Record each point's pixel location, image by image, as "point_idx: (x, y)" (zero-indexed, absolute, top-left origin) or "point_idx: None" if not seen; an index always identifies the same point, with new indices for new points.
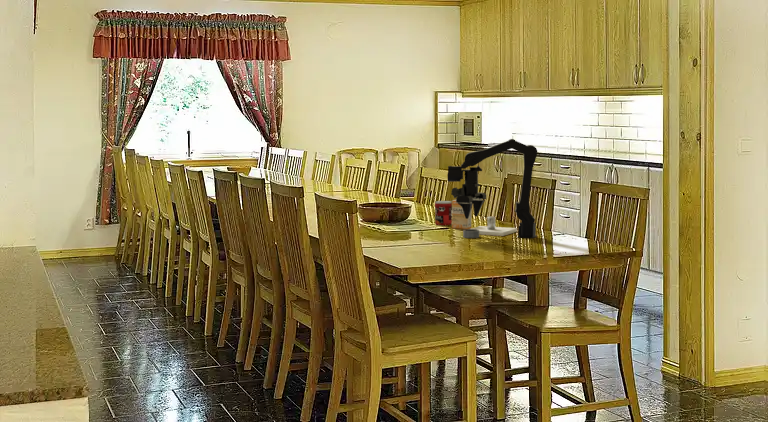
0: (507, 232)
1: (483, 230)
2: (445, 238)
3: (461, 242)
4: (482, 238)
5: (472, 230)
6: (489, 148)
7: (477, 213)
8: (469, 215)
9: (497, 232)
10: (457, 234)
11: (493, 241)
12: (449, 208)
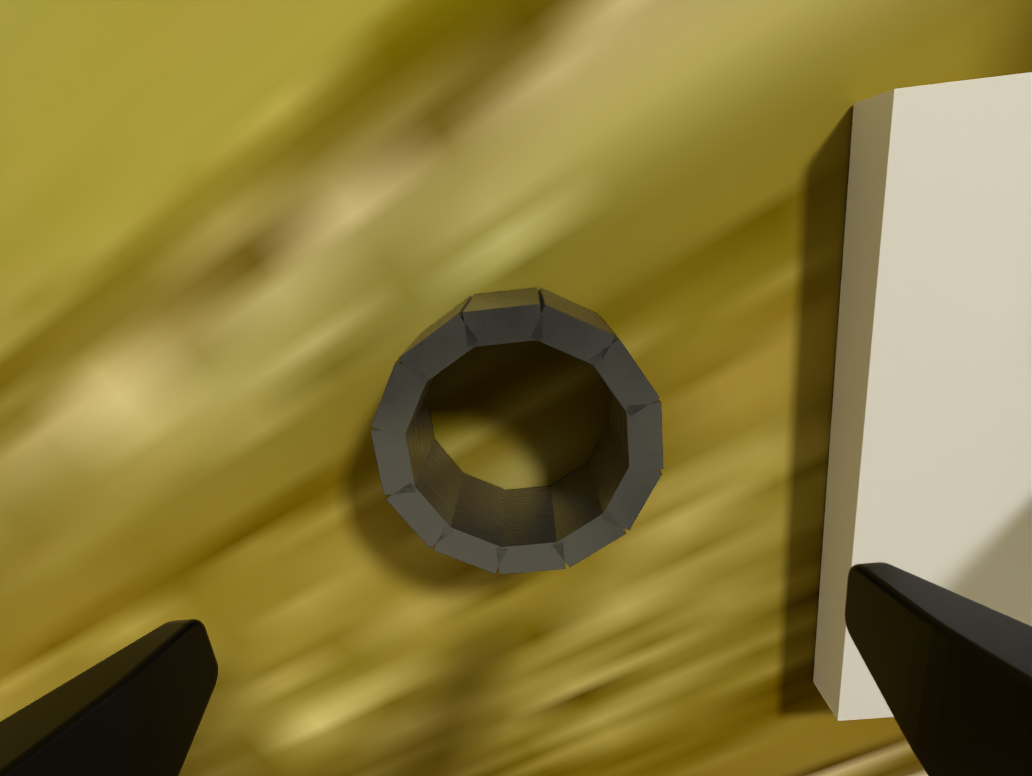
0: None
1: (962, 407)
2: (151, 136)
3: (34, 543)
4: (491, 585)
5: (622, 409)
6: None
7: (903, 729)
8: None
9: (840, 653)
10: (683, 34)
11: (357, 772)
12: None
